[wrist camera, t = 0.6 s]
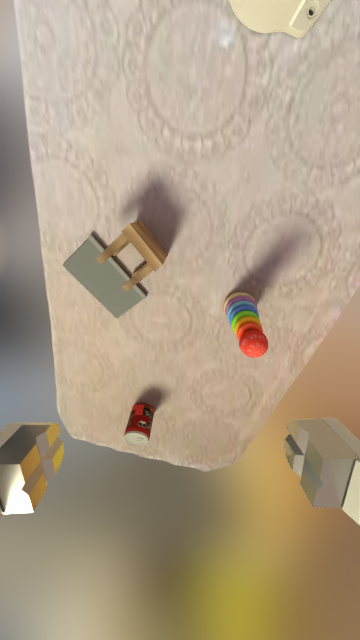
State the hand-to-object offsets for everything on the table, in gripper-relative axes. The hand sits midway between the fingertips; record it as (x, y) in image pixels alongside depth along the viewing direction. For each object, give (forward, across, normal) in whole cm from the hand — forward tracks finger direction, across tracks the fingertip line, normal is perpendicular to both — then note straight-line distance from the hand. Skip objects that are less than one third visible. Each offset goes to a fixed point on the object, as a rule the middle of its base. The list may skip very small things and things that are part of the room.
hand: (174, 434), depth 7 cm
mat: (+46, +18, -2) cm, 49 cm away
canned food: (+57, +13, +44) cm, 73 cm away
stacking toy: (+45, -15, +4) cm, 48 cm away
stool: (+43, +9, -9) cm, 45 cm away
